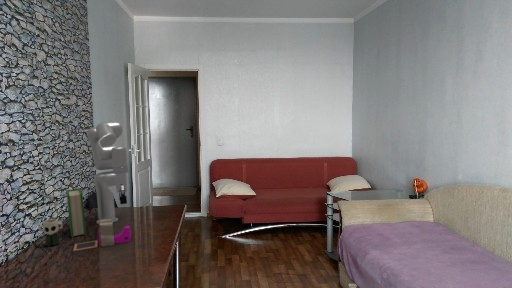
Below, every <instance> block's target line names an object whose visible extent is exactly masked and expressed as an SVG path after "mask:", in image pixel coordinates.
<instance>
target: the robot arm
mask: <svg viewBox="0 0 512 288" xmlns="http://www.w3.org/2000/svg"><path fill="white" fill-rule="evenodd" d="M86 134H87V140H88V141H89V145H90V146H91V149H92V155H93V163H94V167H95V169H96V170H97V171H103V172H98V173H96V174H95V175H94V176H93V184H94V186H95V191H96V200H97V211H98V213H97V214H98V219H97V220H96V224H98V225H100V219H107V218H112V223H116V222H118V220H119V218H118V217H116V212H115V209H116V208H115V200H114V198H115V197H114V193H113V191H112V190H111V189H110V187H116V188H115V189H116V192H117V194H118V198H119V203H120V205H125V204H128V200H127V199H128V198H127V195H126V192H127V189H128V185H127V184H128V183H127V181H128V180H127V174H128V173H129V166H128V153H127V148H126V147H125V146H124V145H115V143H116V141H117V140H118V139H119V138H120V137H121V136H122V134H123V125H122V124H121V123H120V122H118V121H107V122H106V121H104V122H103V121H102V122H100V123H98V124H97V125H96V126H94V127H91V128H89V129H88V130H87V133H86ZM107 170H110V171H107Z"/></svg>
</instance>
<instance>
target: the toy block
mask: <svg viewBox="0 0 512 288" xmlns="http://www.w3.org/2000/svg"><path fill="white" fill-rule="evenodd" d="M131 239H132V234H131V226H130V225H127V226H124V227H123V230H122V231H120V232H119V233H117V234H114V245H115V243H116V244H122V242H123V243H129V242H131V241H132V240H131ZM98 242H99V246H101V247H102V244H101V233H100V229H99V230H98Z"/></svg>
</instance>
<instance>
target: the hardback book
mask: <svg viewBox="0 0 512 288" xmlns="http://www.w3.org/2000/svg"><path fill="white" fill-rule="evenodd" d="M66 202H67V211H68V212H67V213H68V222H69V230H70V236H71V239H73V238H75V237H76V236H86V235H87V229H86V220H85V219H86V218H85V208H84V197H83V192H82V190H81V188H73V189H67V190H66Z"/></svg>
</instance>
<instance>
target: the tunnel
mask: <svg viewBox="0 0 512 288" xmlns="http://www.w3.org/2000/svg"><path fill="white" fill-rule="evenodd" d="M99 230H100V233H101V244H102V246H101V247H107V246H108V245H109V246H114V245H115V244H114V235H115V234H114V225H113V223H112V218H107V219H100V224H99Z"/></svg>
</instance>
